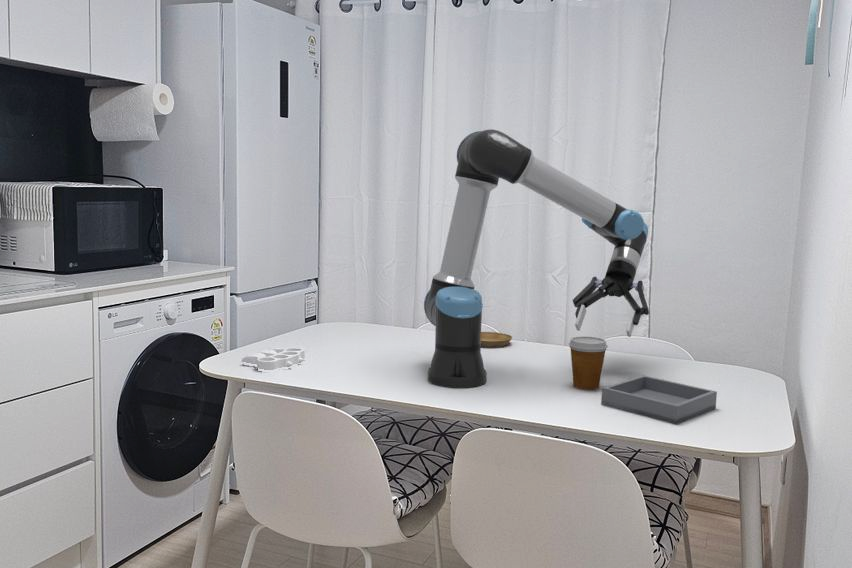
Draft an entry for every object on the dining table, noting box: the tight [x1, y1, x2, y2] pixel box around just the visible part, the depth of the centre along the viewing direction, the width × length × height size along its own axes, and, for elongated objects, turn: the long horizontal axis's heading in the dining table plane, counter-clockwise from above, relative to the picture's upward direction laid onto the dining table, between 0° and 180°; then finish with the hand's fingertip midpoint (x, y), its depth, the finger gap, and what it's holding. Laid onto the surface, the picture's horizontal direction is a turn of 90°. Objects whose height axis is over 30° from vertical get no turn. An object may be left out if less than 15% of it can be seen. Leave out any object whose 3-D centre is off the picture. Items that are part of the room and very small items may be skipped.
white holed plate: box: [241, 347, 306, 370], centre depth 212 cm, size 3×18×15 cm
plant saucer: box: [481, 331, 513, 348], centre depth 243 cm, size 15×15×3 cm
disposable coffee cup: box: [568, 336, 608, 391], centre depth 194 cm, size 10×10×12 cm
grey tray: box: [600, 375, 718, 425], centre depth 178 cm, size 19×18×4 cm
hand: (602, 330), depth 200 cm, fingers open, 13 cm apart
